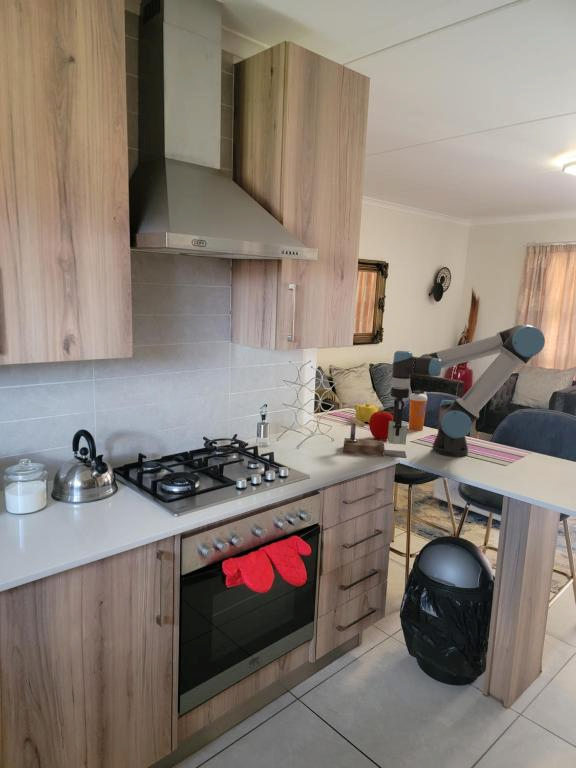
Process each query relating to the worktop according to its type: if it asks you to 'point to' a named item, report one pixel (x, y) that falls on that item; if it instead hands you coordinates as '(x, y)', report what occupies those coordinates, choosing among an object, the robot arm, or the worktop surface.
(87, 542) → the worktop surface
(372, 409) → the teapot
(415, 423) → the shaker bottle
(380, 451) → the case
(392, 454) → the mat
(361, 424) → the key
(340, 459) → the worktop surface
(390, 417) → the tomato
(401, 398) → the robot arm
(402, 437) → the grey block
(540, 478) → the worktop surface
